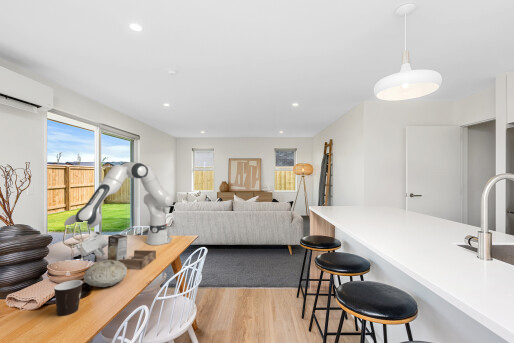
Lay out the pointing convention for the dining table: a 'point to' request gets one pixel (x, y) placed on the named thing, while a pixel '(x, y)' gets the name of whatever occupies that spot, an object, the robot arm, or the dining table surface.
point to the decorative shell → (105, 273)
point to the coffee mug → (67, 297)
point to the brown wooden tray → (139, 264)
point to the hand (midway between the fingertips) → (102, 255)
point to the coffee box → (117, 247)
